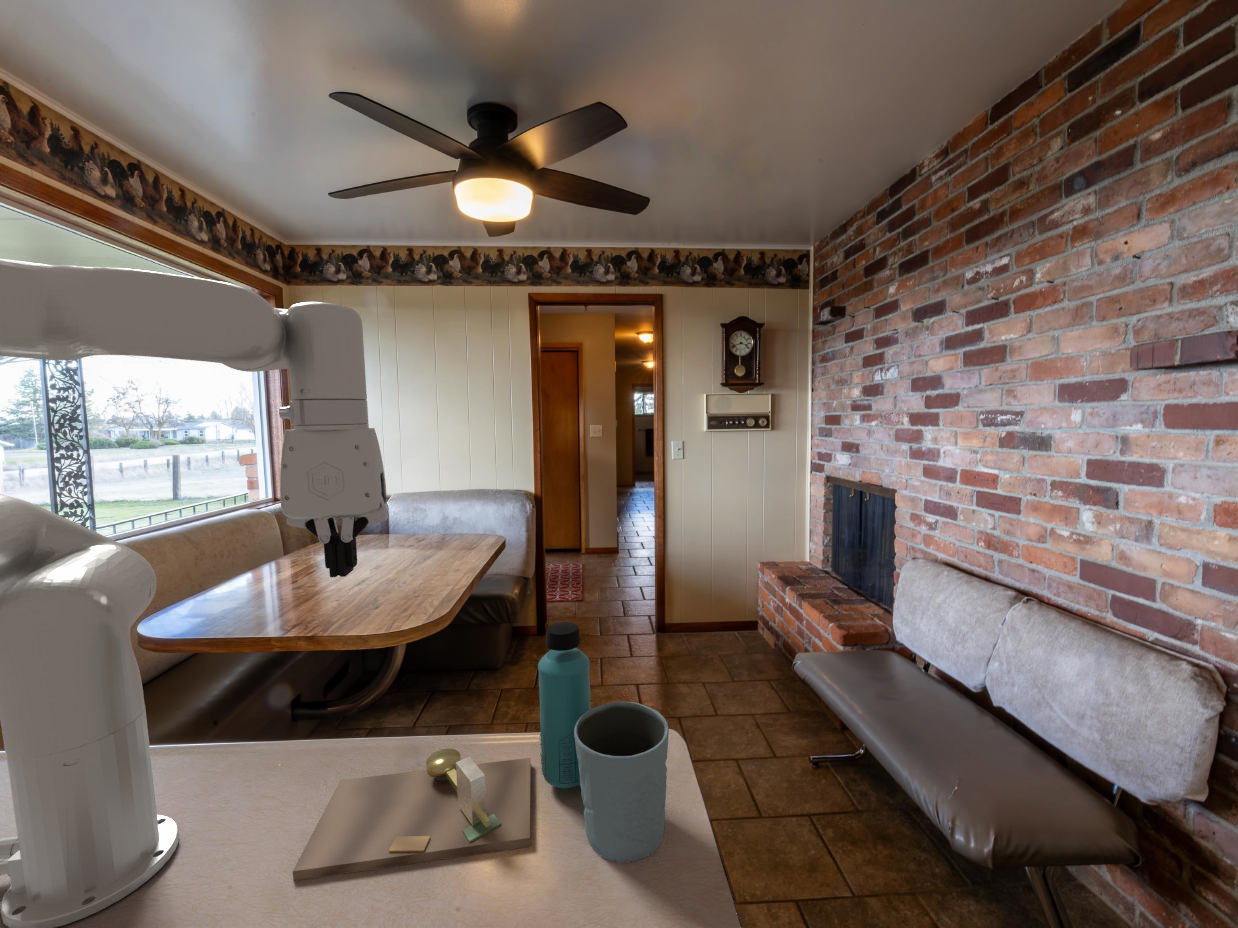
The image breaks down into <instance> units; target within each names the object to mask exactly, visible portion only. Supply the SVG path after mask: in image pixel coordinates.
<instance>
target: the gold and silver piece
mask: <svg viewBox="0 0 1238 928" xmlns="http://www.w3.org/2000/svg"><path fill="white" fill-rule="evenodd" d="M425 762H426V764H425V765H426V770H427V774H428V775H429V776H431V777H434V778H443V777H447V779H448V780H449V782H450V783H451V784H452V786H453V787H454V789H455V790H456V791H457V796H458V806H459V807H460V808H461V810H462V811H463V813H464V814H465V816H466V817H467V819H468V820H469V821H470V823H471V824H472V826H473V825H475V824H477V823H479V822H482V823H483V824H484V826H485V827H488V826H490V819H489V818H488V817H487V815H486V794H485V775H484V774H483V772H482V771H481V770H480V769H479V767H478V766H477V765H476V764H477V763H476V762H475V761H474V760H473V758H471V756H467V757H465V758H463V759H461V753H460V752H459V751H458V750H457V749H455V748H454V749H453V748H442V749H439V750H437V751H435V752H433V753H431V754H430V755H429V756H428V758H427V759H426V761H425Z"/></svg>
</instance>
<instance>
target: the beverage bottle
mask: <svg viewBox="0 0 1238 928" xmlns="http://www.w3.org/2000/svg"><path fill="white" fill-rule="evenodd" d="M545 636H546V637H545V646H546V648H547V649H548V650H549V649H550V650H549V651H548V652H546V653H545V654H544V655H543V656H542V657H541V659H540V660H538V663H537V670H538V687H539V688H538V689H539V691H538V692H539V731H540V735H539V743H540V752H539V753H540V757H541V759H540V763H541V764H540V765H541V766H540V769H541V770H540V771H541V773H542V776H543V778H544V780H545V781H546V782H547V783H548V784H549V785H550V786H552V787H556V788H559V789H571V788H574V787H577V786H580V773H579V762H578V758H577V752H576V744H575V736H574V728H575V725H576V723H577V721H578V720H579V718H580V717H581V716H582V715H583V714H584V713H586V712H587V711H589V710H590V709H592V707H591V706H592V702H593V699H592V696H591V693H592V690H591V687H592V686H591V682H590V679H591V678H590V665H591V663H590V659H589V657H588V655H586V654H585V653H584V652H583V651H582V650H580V649H579V648H578V647H579V646H580V645H581V636H580V629H579V626H578V624H576V623H573V622H572V621H571V622H570V621H561V622H554V623H552V624H550V625H548V627H547V628H546V635H545Z"/></svg>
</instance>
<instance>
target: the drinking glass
mask: <svg viewBox="0 0 1238 928" xmlns="http://www.w3.org/2000/svg"><path fill="white" fill-rule="evenodd" d="M669 729H670V728H669V724H668V721H667V720H666V718H665V717H664V716H663V714H661V713H660V712H659V711H657V710H656V709H654V708H652V707H650V706H648V705H645V704H641V703H639V702H634V701H614V702H607V703H602V704H600V705H597V706H594V707H591V709H590V710H589V711H587V712H586V713H584V714H583V715H582V716H581V717H580V718H579V720H578V721H577V723H576V725H575V728H574V736H575V744H576V752H577V758H578V762H579V773H580V785H579V787H580V789H581V790H580V791H581V792H580V793H581V799H582V804H583V807H584V810H583V818H584V819H583V820H584V826H585V827H584V828H585V834H586V837H587V841H588V843H589V845H590V847H591V848H592V849H593V850H594V852H596V853H597V854H598V856H600V857H601V858H603V859H606V860H609V861H611V862H615V863H625V864H627V863H633V862H637V861H640V860H643V859H644V858H648V857H649V856H651V855H652V854H653V853H655V852H656V850H658V848H659V847H660V845H661V843H662V841H663V838H664V834H665V821H666V820H665V819H666V798H667V780H668V778H667V777H668V775H667V772H668V767H667V765H666V763H667V759H668V749H669V731H670V730H669Z"/></svg>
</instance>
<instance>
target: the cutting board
mask: <svg viewBox="0 0 1238 928" xmlns="http://www.w3.org/2000/svg"><path fill="white" fill-rule="evenodd" d="M531 761H532V760H531V757H526V758H517V759H510V760H509V759H507V760H499V761H493V762H492V761H491V762H485V763H475V764H476V765H477V766H478V767H479V769H480V770H481V771H482V772H483V774H484V775H485V794H486V815H487V817H488V818H489V819H490V826H488V827H485V826H484V824H483V823H482V822H479V823H477V824H475V825H473V826H472V824H471V823H470V821H469V820H468V819H467V817H466V816H465V814H464V813H463V811H462V810H461V808H460V807H459V806H458V796H457V791H456V790H455V789H454V787H453V786H452V784H451V783H450V782H449V780H448V779H447V777H443V778H434V777H431V776H429V775H428V774H427V769H424V770H417V771H416V770H414V771H407V772H399V773H398V772H397V773H391V774H382V775H373V776H364V777H356V778H348V779H340V780H339V782H338V784H337V786H336V788H335V790H334V791H333V793H332V795H331V797H330V799H329V802H328V803H327V805H326V807H325V809H324V811H323V812H322V815H321V816H320V818H319V820H318V822H317V824H316V826H315V828H314V830H313V832H312V833H311V835H310V837H309V840H308V841H307V843H306V845H305V846H304V849H303V851H302V853H301V855H300V857H299V859H298V860H297V862H296V864H295V865H294V868H293V870H292V877H293V880H292V881H301V880H307V879H313V878H314V879H315V878H322V877H327V876H329V877H330V876H336V875H341V874H348V873H356V872H363V871H369V870H376V869H382V868H383V869H384V868H391V867H396V866H397V867H399V866H404V865H410V864H418V863H419V864H420V863H426V862H433V861H438V860H446V859H452V858H460V857H466V856H467V857H468V856H472V855H473V856H474V855H481V854H486V853H494V852H495V853H496V852H503V851H508V850H514V849H522V848H530V847H531V783H532V782H531V781H532V780H531V770H532V769H531V767H532V764H531Z"/></svg>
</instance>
